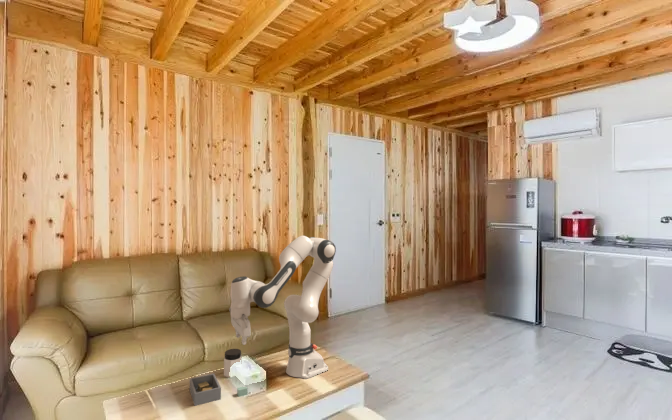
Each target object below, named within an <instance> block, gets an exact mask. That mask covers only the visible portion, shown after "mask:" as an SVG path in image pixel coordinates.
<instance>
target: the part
mask: <svg viewBox="0 0 672 420" xmlns="http://www.w3.org/2000/svg"><path fill="white" fill-rule="evenodd" d="M203 388H209V384H208V383H207V382H202V383H199V384H198V391H199V392H201V391H202V390H203Z"/></svg>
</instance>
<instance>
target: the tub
mask: <svg viewBox="0 0 672 420" xmlns="http://www.w3.org/2000/svg"><path fill="white" fill-rule="evenodd" d="M202 382H207V383H208V384H209V388H211V387H212V389H210V390H205V391H201V392H199V391H198V384H199V383H202ZM188 390H189V393H190V397H191V399H192V402H193V406H194V407H196V406H200V405H203V404H207V403H212V402H216V401H219V400H221V399H222V387H221V385H220V383H219V381H218V379H217V377H216V374H215V373H209V374H205V375H201V376H196V377H191V378H189V389H188Z"/></svg>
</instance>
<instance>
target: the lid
mask: <svg viewBox="0 0 672 420" xmlns="http://www.w3.org/2000/svg"><path fill="white" fill-rule="evenodd" d="M236 394H237V397H238V398H239V397H244V396H247V395H248V387H247V386H246V387H243V386H239V387H237V388H236Z"/></svg>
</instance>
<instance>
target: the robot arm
mask: <svg viewBox="0 0 672 420" xmlns="http://www.w3.org/2000/svg"><path fill="white" fill-rule="evenodd" d="M336 249H337V248H336V245H335V243H334V242H333V241H331V240H330V239H326V238H322V237H316V236H310V237H308V236H306V235H299V236H298V237H296V238H295V239H293V241H291V242H290V243H289V244H287V246H286V247H284V249H283V250H282V251H281V252H280V254H279V256H278V257H279V258H278V261H279V264H280V269H279V270H278V271H277V273H276V275H275V276H274V277H272V279H271V280H270V281H269V283H264V282H263V281H259V280H254V279H251V278H249V277H248V276H245V275H244V276H243V275H242V276H238V277H236V278H234V279H232V281H231V283H230V301H231V303H230V307H229V308H228V310H229V313H230V322H231V326H232V327H233V328H234V331H235V337H236V338H237V339H239V338H241V345H243V346H244V345H246V344H247V339H248V338H250V337H251V335H252V332H251V331H252V329H251V321H250V319H249V318H248V317H249V316H250V315H251V303H253V302H254V304H256V305H257V306H258V307H259V308H263V309H266V308H269V307H271V306H272V305H273V304H274V303H275V302H276V300H277V298H278V295H279V293H280V292H281V290H282V289H283V288H284V286H286V284H287V283H288V281H290V279H291V277H293V275H294V274H295V272H296V270H297V268H299V266H300V265H301V263H302V262H303V261H304V260H305V259H306V257H311V258H314V259H313V260H314V261H313V264H312V265H311V267H310V269H309V270H308V272H307V274H306V276H305V278H304V280H303V281H302V292H301V295H300V294H290V295H288V296H287V297H286V298H284V299H285V300H284V303H283V305H284V306H283V307H284V309H285V313H286V317H287V323H288V328H289V343H288V352H287V353H288V359H287V366H286V369H285V372H286V374H287V375H288V376H289V377H294V378H301V379H305V380H306V379H310V378H312V377H314V376H317V374H318V375H319V374H323V373H326V372H328V371H329V366H328V364H326V362H324V358H323V356H322V354H320V353H319V351H316V350H317V348H318V346H317V345H316V344H314V343H312V342H311V339H312V338H311V336H312V335H311V333H312V330H311V327H310V325H309V323H313V322H315V321H316V320H317V318H318V316H319V313H320V311H319V301H320V297H321V294H322V291H323V289H324V287H325V286H326V285H327V284H326V283H327V281H328V280H329V278H330V276H331V273H332V271H333V267H334V262H333V260H334V257H335V255H336V253H337V250H336ZM327 370H328V371H327ZM325 371H326V372H325ZM322 372H323V373H322Z"/></svg>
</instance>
